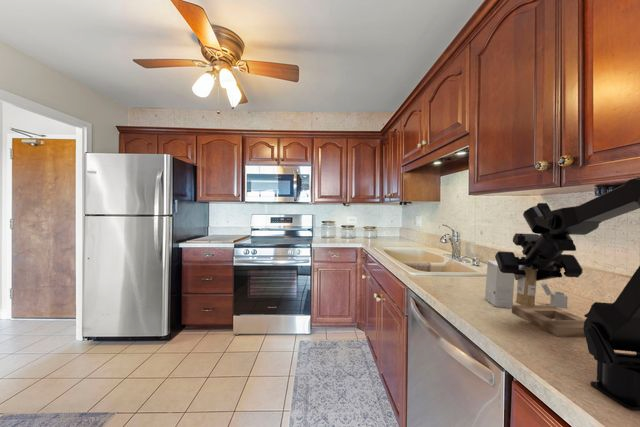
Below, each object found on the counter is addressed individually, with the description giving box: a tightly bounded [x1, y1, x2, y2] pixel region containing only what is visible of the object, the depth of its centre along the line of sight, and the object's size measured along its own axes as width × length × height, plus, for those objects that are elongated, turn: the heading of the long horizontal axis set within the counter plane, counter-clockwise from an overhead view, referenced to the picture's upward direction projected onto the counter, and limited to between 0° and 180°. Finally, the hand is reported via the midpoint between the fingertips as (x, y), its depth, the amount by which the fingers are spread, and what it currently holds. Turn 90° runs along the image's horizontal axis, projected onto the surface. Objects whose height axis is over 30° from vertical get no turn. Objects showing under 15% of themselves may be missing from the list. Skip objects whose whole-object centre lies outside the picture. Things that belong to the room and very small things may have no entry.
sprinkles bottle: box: [515, 268, 538, 307], centre depth 76 cm, size 5×5×14 cm
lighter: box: [540, 282, 568, 309], centre depth 91 cm, size 7×2×8 cm, turn 65°
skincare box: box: [484, 259, 515, 309], centre depth 93 cm, size 8×6×15 cm
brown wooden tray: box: [511, 304, 586, 338], centre depth 77 cm, size 16×13×2 cm
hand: (524, 279), depth 78 cm, fingers closed on sprinkles bottle, 4 cm apart
